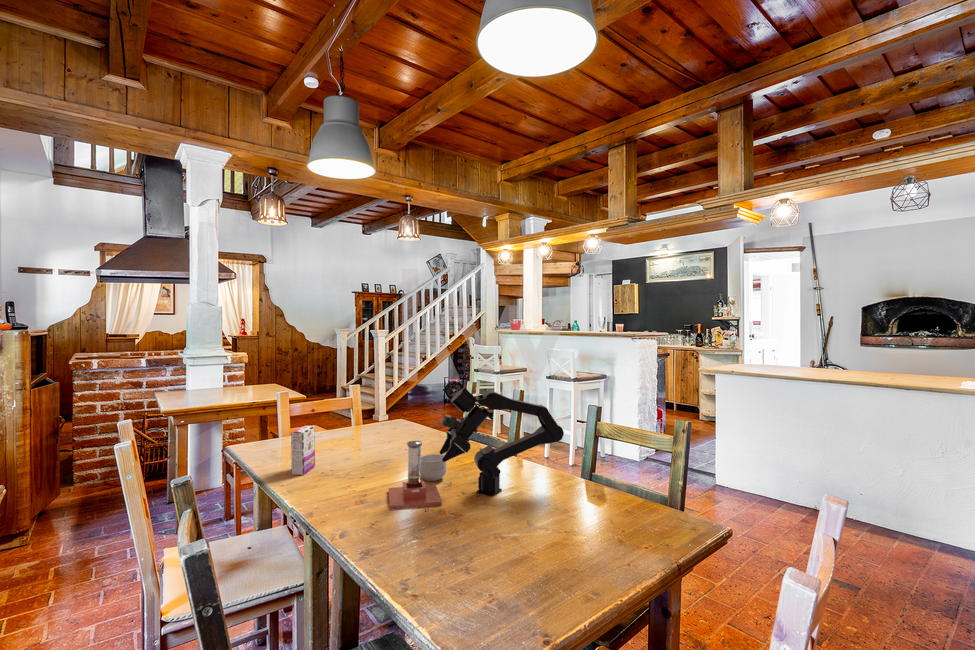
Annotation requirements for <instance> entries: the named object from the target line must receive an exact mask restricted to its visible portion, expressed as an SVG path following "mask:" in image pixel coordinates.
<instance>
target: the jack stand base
mask: <svg viewBox="0 0 975 650" xmlns="http://www.w3.org/2000/svg"><path fill="white" fill-rule="evenodd" d="M388 501H389V510H392V511H394V510H402V509H403V508H405V509H414V508H415V509H416V507H417V508H424V507H426V508H427V507H437V506H443V500H442V498H441V495H440V493H439V491H438V487H437V484H435V483H433V484H426V483H425V480H421V482H420V483H419V484H409V483H408V481H405V482H402V486H398V487H397V486H396V487H388ZM393 509H394V510H393Z"/></svg>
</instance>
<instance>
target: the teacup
mask: <svg viewBox="0 0 975 650" xmlns="http://www.w3.org/2000/svg"><path fill="white" fill-rule="evenodd" d="M445 454H446V453H444V454H442V455H441V454H440V453H429V454H424V455H421V479H423V481H427V482H435V481H440V480H441V479H442V478H443V477H444V476H445V475H446V473H447V461H446V462H443V461H442V458H443V457H444V455H445Z"/></svg>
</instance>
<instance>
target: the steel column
mask: <svg viewBox="0 0 975 650" xmlns="http://www.w3.org/2000/svg"><path fill="white" fill-rule="evenodd" d="M422 445H423V442H422V441H421V440H410V441H407V443H406V446H407V449H408V452H407V453H408V454H407V455H408V459H407V461H408V463H407V467H408V468H407V470H408V471H407V480H408V481H407V482H408V483H409V484H419V483H420V482H421V481H422V480H421V479H422V478H421V456H422V453H421V451H422V449H421V447H422Z"/></svg>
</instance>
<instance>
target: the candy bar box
mask: <svg viewBox="0 0 975 650" xmlns="http://www.w3.org/2000/svg"><path fill="white" fill-rule="evenodd" d="M315 427H316V426H315V425H303V426H301V427H299V428H297V429H295V430H293V431H292V432H290V435H291V436H290V437H291V438H290V439H291V442H290V445H291V446H290V447H291V476H304V475H306V474H307V473H308V472H310V471H311V470H312V469H314V467H316V435H315V434H316V430H315V429H316V428H315Z"/></svg>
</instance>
